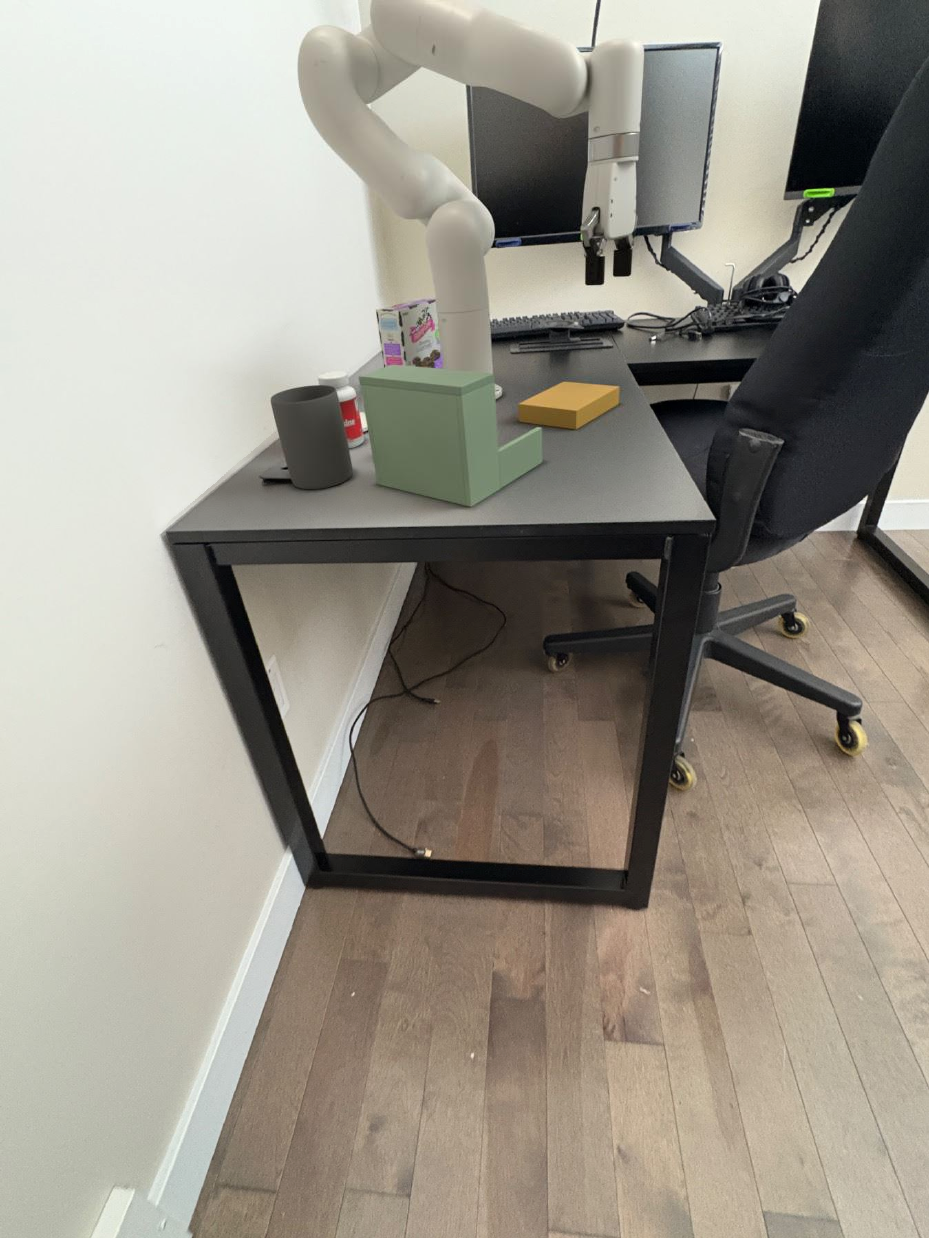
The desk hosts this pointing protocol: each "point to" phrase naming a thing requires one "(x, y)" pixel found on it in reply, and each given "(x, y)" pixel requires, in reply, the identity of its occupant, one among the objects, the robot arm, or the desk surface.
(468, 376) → the green block
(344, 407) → the pill bottle
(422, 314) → the candy box
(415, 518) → the desk surface
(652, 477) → the desk surface
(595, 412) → the orange flat block
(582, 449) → the desk surface
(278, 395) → the mug
